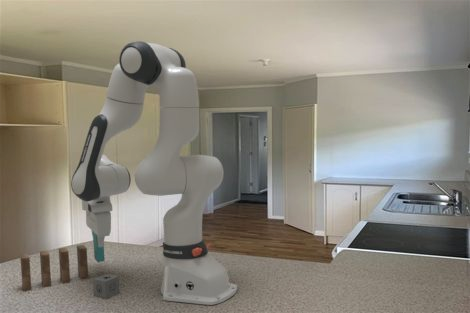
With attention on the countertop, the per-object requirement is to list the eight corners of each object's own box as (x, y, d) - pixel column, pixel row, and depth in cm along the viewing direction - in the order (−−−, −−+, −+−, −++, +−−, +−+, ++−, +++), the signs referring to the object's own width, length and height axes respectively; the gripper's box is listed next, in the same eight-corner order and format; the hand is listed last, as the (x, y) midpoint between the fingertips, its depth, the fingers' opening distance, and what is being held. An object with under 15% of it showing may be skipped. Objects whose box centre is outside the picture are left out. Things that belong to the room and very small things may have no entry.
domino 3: (67, 277, 133) (65, 247, 133) (70, 282, 129) (68, 250, 129) (60, 279, 132) (58, 248, 132) (62, 283, 128) (60, 252, 127)
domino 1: (30, 285, 128) (28, 253, 127) (31, 289, 124) (29, 257, 123) (22, 286, 127) (20, 254, 126) (23, 291, 122) (21, 258, 122)
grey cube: (105, 299, 114) (104, 281, 114) (93, 296, 117) (93, 278, 117) (119, 293, 119) (118, 276, 118) (107, 290, 121) (107, 273, 121)
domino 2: (49, 281, 131) (47, 250, 130) (51, 285, 126) (49, 254, 126) (41, 282, 130) (39, 251, 129) (43, 287, 125) (41, 255, 125)
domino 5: (101, 257, 139) (99, 228, 138) (104, 260, 135) (102, 230, 134) (94, 258, 138) (92, 229, 137) (97, 262, 133) (95, 232, 133)
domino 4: (85, 274, 136) (83, 244, 136) (88, 278, 132) (86, 247, 131) (78, 275, 135) (76, 245, 135) (81, 279, 131) (79, 249, 130)
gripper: (80, 200, 142) (82, 239, 143) (92, 208, 125) (95, 253, 126) (99, 198, 145) (101, 236, 146) (113, 206, 128) (115, 249, 129)
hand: (98, 244), depth 136 cm, fingers closed on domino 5, 5 cm apart
